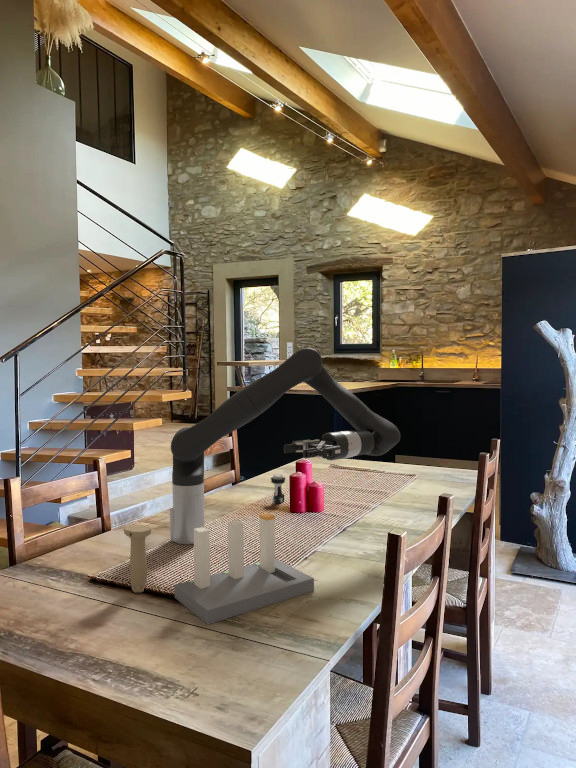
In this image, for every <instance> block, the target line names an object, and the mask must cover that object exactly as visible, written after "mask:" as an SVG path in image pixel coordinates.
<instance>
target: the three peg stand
mask: <svg viewBox="0 0 576 768" xmlns="http://www.w3.org/2000/svg"><path fill="white" fill-rule="evenodd" d="M227 534H228V535H227V540H228V541H227V544H228V545H227V549H228V551H227V552H228V553H227V554H228V555H227V556H228V557H227V558H228V570H225V571H222V572H217V573H215V574H211V567H210V566H211V562H210V561H211V559H210V557H211V553H210V552H211V548H210V546H211V545H210V543H211V542H210V529H208V528H204V527H200V528H195V529H194V544H193V566H194V569H193V572H194V578H193V579H192V580H188V581H184V582H180V583H175V584H174V599H176V600H177V601H178V602H180V603H181V604H182V605H183V606H185V608H187V609H188V610H190V611H191V612H192V613H193V614H194V615H196V616H197V617H198V618H199V619H200V620H201V621H202V622H204V623H206V625H212V624H214V623H217V622H221V621H224V620H226V619H231V618H234V617H235V616H240V615H242V614H245V613H248V612H251V611H255V610H257V609H261V608H263V607H268V606H270V605H273V604H276V603H280V602H282V601H286V600H290V599H292V598H295V597H298V596H301V595H305V594H308V593H311V592H313V591H314V590H315V578H314V577H312V576H310V575H309V574H307V573H305V572H303V571H301V570H299V569H297V568H295V567H293V566H291V565H289V564H287V563H286V562H283V561H281V560H280V559H277V558H276V557H275V572H273V573H269V572H267V571H265V570H263V569H262V568H260V561H258V562H256V563H252V564H247V565H244V564H245V563H244V561H245V557H244V556H245V555H244V551H245V550H244V544H245V543H244V542H245V541H244V522H242V521H240V520H238V519H235V520H229V521H228V522H227Z"/></svg>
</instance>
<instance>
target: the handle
mask: <svg viewBox="0 0 576 768" xmlns="http://www.w3.org/2000/svg"><path fill="white" fill-rule="evenodd" d="M123 533H124V535H125V536H127V537H129V539H130V552H129V553H130V555H129V557H130V560H129V576H130V584H131V585H130V586H131V591H133V593H143V592H144V588H146V589H147V584H146V583H147V579H148V561H147V552H146V551H147V548H146V538H147V537H148V536H150V535H151V534H152V527H151V526H149V525H144V524H131V525H127V526H125V527H124V530H123Z"/></svg>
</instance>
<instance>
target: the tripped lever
mask: <svg viewBox="0 0 576 768" xmlns="http://www.w3.org/2000/svg"><path fill="white" fill-rule="evenodd" d="M275 521H276V515H274V514H272V513H270V512H265V513H261V514H259V562H260V568H262V569H263V570H265V571H267V572H269V573H273V572H275V558H276V544H275V543H276V537H275V536H276V522H275Z"/></svg>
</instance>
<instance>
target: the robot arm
mask: <svg viewBox="0 0 576 768" xmlns="http://www.w3.org/2000/svg"><path fill="white" fill-rule="evenodd" d="M302 383H305V384H306V385H308V386H309V387H311V389H314V390H315V391H316V392H317V393H319V394H320V395H321V396H322V397H323V399H325V400H326V401H327V402H328V403H329V404H330V405H331V406H332V407H333V408H334V409H335V410H336V411H337V412H338V413H339V415H341V417H343V418H344V419H345V420H346V421H347V422H348V423H349V424H350V425H351V426H352V427H353V428H354V429H355V430H340V431H334V432H326V433H324V434H323V435H322V436H321V438H320V439H314V440H311V439H302V440H293V441H292V442H291V443H288V444H284V445H283V453H284V454H291V453H302V458H303V459H310V458H323V459H326V461H336V460H343V459H348V458H352V457H355V456H356V457H357V456H363V455H366V456H373V457H378V456H379V457H380V456H383V455H384V454H386V453H389V451H390V450H392V448H394V447H395V446H396V445H398V443H400V440H401V432H400V430H399V428H398V427H397V425H395V424H394V423H393V422H391V421H389V420H388V419H386V418H384V417H382V416H380V415H379V414H377V413H375V412H373V411H372V410H371V409H370V408H369V406H367V405H366V404H365V403H364V402H363V401H362V400H360V399H359V397H357V396H356V395H355V394H354V393H352V392H351V391H350V390H348V389H347V388H346V387H344V386H343V384H340V383H339V382H338V381H337V380H336V379H335V378H334V377H333V376H332V375H331V373H329V371H327V369H326V368H325V366H324V365H323V359H322V356H321V354H320V352H319V351H317V350H316V349H315V348H312V347H302V348H299V349H298V350H296V351H295V352H294V353H293V354H292V355H291V356H289V358H287V359H286V360H285V361H283V363H281V364H280V365H278V366H277V367H276V368H275V369H273V370H271V371H270V372H268V373H266V374H265V375H262V376H261V377H258V378H257V379H256V380H254V381H252V382H251V383H249V384H247V385H245V386H244V387H243V388H241V389H239V390H238V391H237V392H235V393H234V394H232V395H231V396H230V397H228V398H227V399H226V400H225V401H223V402H222V403H221V404H220V405H219V406H218V407H217V408H216V409H215V410H214V411H213V412H212V413H210V414H209V415H208V416H207V417H205V418H204V419H203V420H201V421H199V422H197V423H196V424H193V425H192V426H190V427H189V426H188V427H187V426H185V427H183V428H180V429H178V430H177V431H176V432H175V434H174V435H173V438H172V439H171V443H170V452H171V454H172V474H171V480H172V481H171V484H172V486H171V487H172V491H171V492H172V508H170V510H169V513H170V514H169V526H170V527H169V529H170V533H169V535H170V542H172V543H175V544H178V545H194V529H195V528H200V527H204V528H205V525H206V524H205V452H206V451H207V450H208V449H209V448H211V447H212V446H213V445H214V444H215V443H217V442H218V441H220V440H221V439H223V438H224V437H226V436H227V435H230V434H232V433H233V432H235V431H236V430H238V429H240V428H242V427H243V426H245V425H246V424H248V423H250V422H252V421H253V420H254V419H256V418H257V417H259V416H260V415H261V414H263V413H264V412H265V411H267V410H268V409H269V408H270V407H271V406H273V405H274V404H275V403H276V402H277V401H278V400H279V399H280V398H281V397H283V396H284V394H286V392H288V391H290V390H291V389H292V388H294V387H296V386H298V385H299V384H302ZM368 429H369V430H371V431H373V432H370V431H369V430H368Z"/></svg>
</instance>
